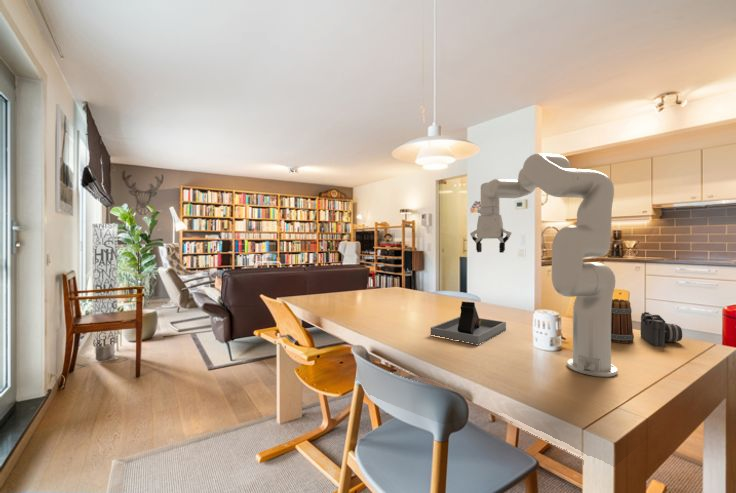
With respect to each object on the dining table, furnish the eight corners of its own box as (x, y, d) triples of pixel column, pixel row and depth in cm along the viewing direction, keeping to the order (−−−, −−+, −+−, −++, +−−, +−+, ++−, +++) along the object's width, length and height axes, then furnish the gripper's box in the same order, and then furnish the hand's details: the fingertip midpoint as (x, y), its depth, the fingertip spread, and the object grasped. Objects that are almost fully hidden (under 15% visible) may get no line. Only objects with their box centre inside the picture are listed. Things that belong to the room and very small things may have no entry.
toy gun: (477, 347, 144) (480, 320, 151) (470, 330, 131) (474, 301, 138) (465, 346, 146) (468, 319, 153) (457, 329, 133) (461, 300, 140)
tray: (478, 345, 125) (478, 336, 125) (430, 336, 138) (430, 327, 138) (506, 330, 146) (505, 322, 146) (462, 323, 159) (462, 315, 159)
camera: (690, 349, 118) (690, 320, 118) (651, 346, 122) (651, 318, 122) (671, 338, 132) (671, 312, 131) (636, 335, 136) (636, 310, 135)
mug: (622, 336, 135) (622, 298, 135) (640, 344, 125) (640, 303, 124) (580, 335, 137) (580, 298, 137) (595, 343, 126) (595, 302, 126)
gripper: (466, 212, 148) (467, 252, 148) (507, 210, 137) (507, 253, 137) (474, 213, 154) (474, 251, 154) (514, 211, 142) (514, 252, 143)
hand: (490, 252), depth 145 cm, fingers open, 9 cm apart
